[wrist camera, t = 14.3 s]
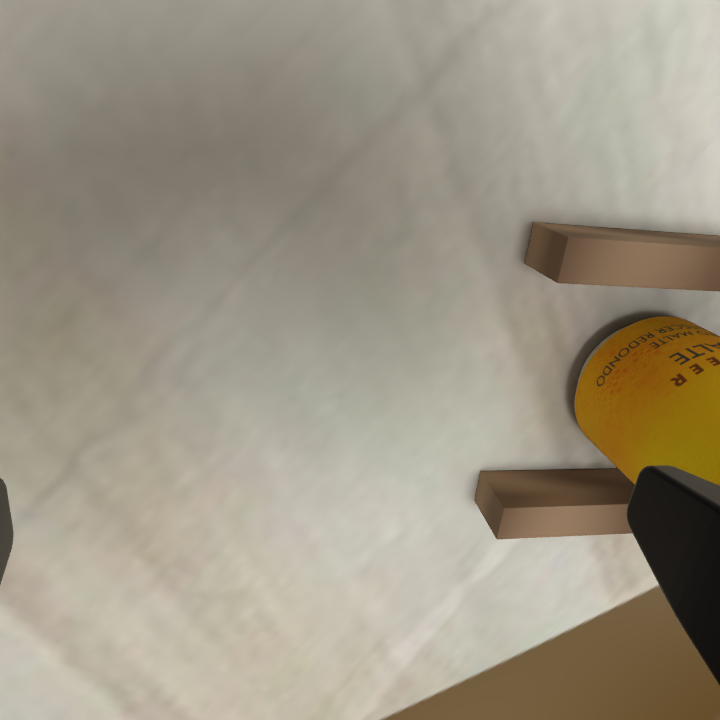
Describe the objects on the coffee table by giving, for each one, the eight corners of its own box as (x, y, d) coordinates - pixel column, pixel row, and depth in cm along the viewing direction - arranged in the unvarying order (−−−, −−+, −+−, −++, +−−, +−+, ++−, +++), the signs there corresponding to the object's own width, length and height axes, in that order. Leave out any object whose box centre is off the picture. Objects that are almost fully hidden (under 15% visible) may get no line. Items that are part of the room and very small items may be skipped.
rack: (474, 500, 26) (508, 560, 22) (533, 222, 21) (588, 245, 18) (702, 493, 28) (764, 547, 25) (801, 241, 23) (893, 265, 20)
